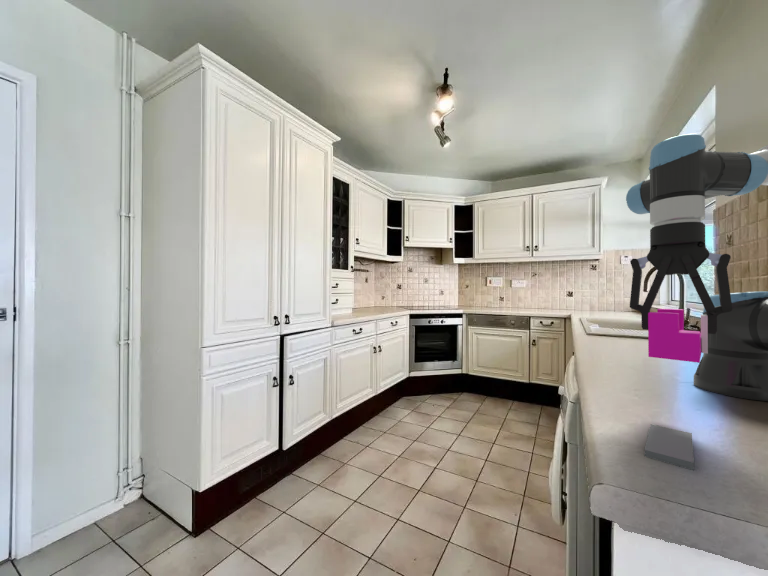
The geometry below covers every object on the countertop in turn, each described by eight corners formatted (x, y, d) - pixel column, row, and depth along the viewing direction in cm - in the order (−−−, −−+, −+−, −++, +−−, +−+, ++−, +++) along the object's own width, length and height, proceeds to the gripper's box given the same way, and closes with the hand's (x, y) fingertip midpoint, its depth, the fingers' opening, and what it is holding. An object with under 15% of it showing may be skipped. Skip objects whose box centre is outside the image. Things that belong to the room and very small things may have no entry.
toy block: (699, 362, 51) (699, 314, 51) (648, 356, 55) (648, 312, 55) (702, 349, 61) (701, 309, 61) (658, 345, 66) (658, 308, 66)
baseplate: (650, 430, 54) (650, 424, 54) (691, 439, 51) (691, 433, 51) (644, 456, 45) (644, 449, 45) (693, 470, 42) (693, 462, 42)
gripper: (752, 219, 56) (753, 353, 56) (615, 233, 69) (616, 341, 69) (760, 212, 50) (761, 360, 50) (609, 228, 63) (610, 346, 63)
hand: (677, 349), depth 60 cm, fingers closed on toy block, 6 cm apart
